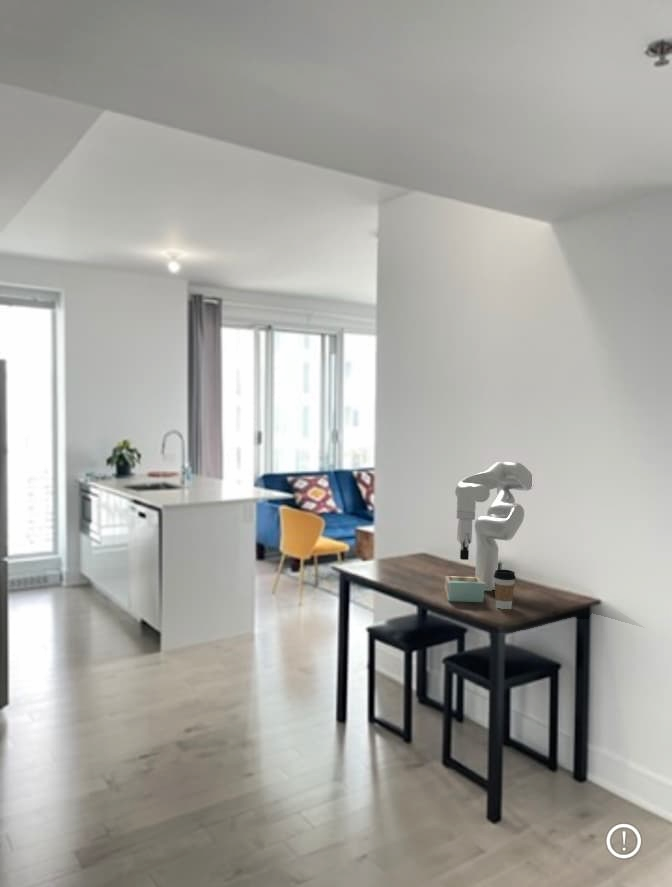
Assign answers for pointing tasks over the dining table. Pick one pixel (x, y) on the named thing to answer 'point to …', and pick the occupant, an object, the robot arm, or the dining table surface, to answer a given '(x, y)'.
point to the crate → (453, 578)
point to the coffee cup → (504, 588)
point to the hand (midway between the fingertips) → (464, 559)
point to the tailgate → (466, 591)
